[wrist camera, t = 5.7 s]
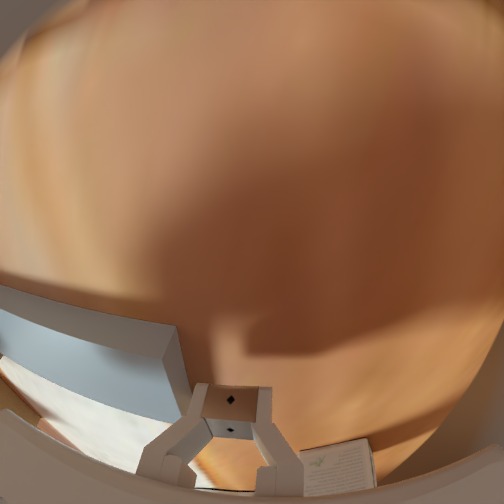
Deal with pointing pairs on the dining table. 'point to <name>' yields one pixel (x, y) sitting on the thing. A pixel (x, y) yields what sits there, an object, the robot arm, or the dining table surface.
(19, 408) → the sandwich container
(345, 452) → the syrup box
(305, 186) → the dining table surface
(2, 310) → the panel
